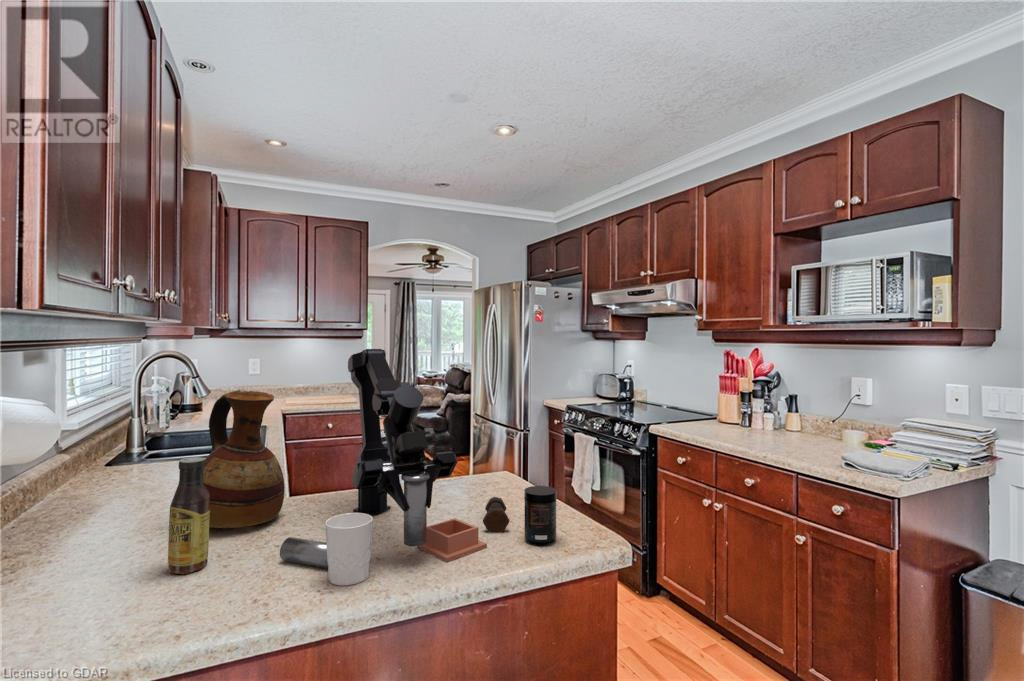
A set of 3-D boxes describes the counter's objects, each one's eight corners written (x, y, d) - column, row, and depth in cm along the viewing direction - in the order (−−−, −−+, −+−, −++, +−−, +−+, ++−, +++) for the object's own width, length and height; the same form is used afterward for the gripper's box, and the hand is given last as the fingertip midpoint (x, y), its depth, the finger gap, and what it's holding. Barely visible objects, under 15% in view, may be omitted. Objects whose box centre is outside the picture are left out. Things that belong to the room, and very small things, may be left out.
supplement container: (553, 533, 111) (553, 485, 111) (559, 546, 104) (559, 494, 104) (522, 534, 110) (522, 486, 110) (526, 547, 103) (526, 495, 103)
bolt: (498, 518, 126) (499, 539, 111) (480, 508, 126) (479, 528, 111) (510, 497, 126) (512, 515, 111) (492, 487, 126) (492, 504, 111)
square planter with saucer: (416, 547, 103) (416, 527, 103) (455, 534, 110) (455, 515, 110) (446, 562, 96) (446, 540, 96) (486, 547, 103) (486, 527, 103)
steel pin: (395, 544, 95) (395, 476, 95) (413, 534, 100) (413, 469, 100) (417, 549, 92) (417, 479, 92) (434, 539, 97) (435, 473, 97)
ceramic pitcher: (235, 544, 104) (235, 396, 104) (163, 531, 111) (164, 393, 111) (303, 513, 123) (304, 388, 123) (238, 504, 129) (239, 386, 130)
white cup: (326, 591, 85) (327, 530, 85) (323, 571, 92) (324, 515, 92) (375, 582, 88) (375, 524, 88) (369, 564, 95) (369, 510, 95)
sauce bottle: (159, 573, 91) (159, 461, 91) (192, 559, 97) (192, 454, 97) (185, 578, 89) (186, 464, 89) (217, 564, 95) (218, 456, 95)
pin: (298, 536, 100) (293, 560, 99) (282, 537, 96) (277, 561, 95) (350, 544, 96) (345, 569, 95) (336, 545, 92) (331, 571, 91)
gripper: (360, 417, 95) (374, 493, 85) (454, 411, 104) (476, 479, 94) (351, 451, 102) (363, 525, 92) (440, 443, 111) (459, 509, 101)
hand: (417, 508), depth 95 cm, fingers closed on steel pin, 4 cm apart
